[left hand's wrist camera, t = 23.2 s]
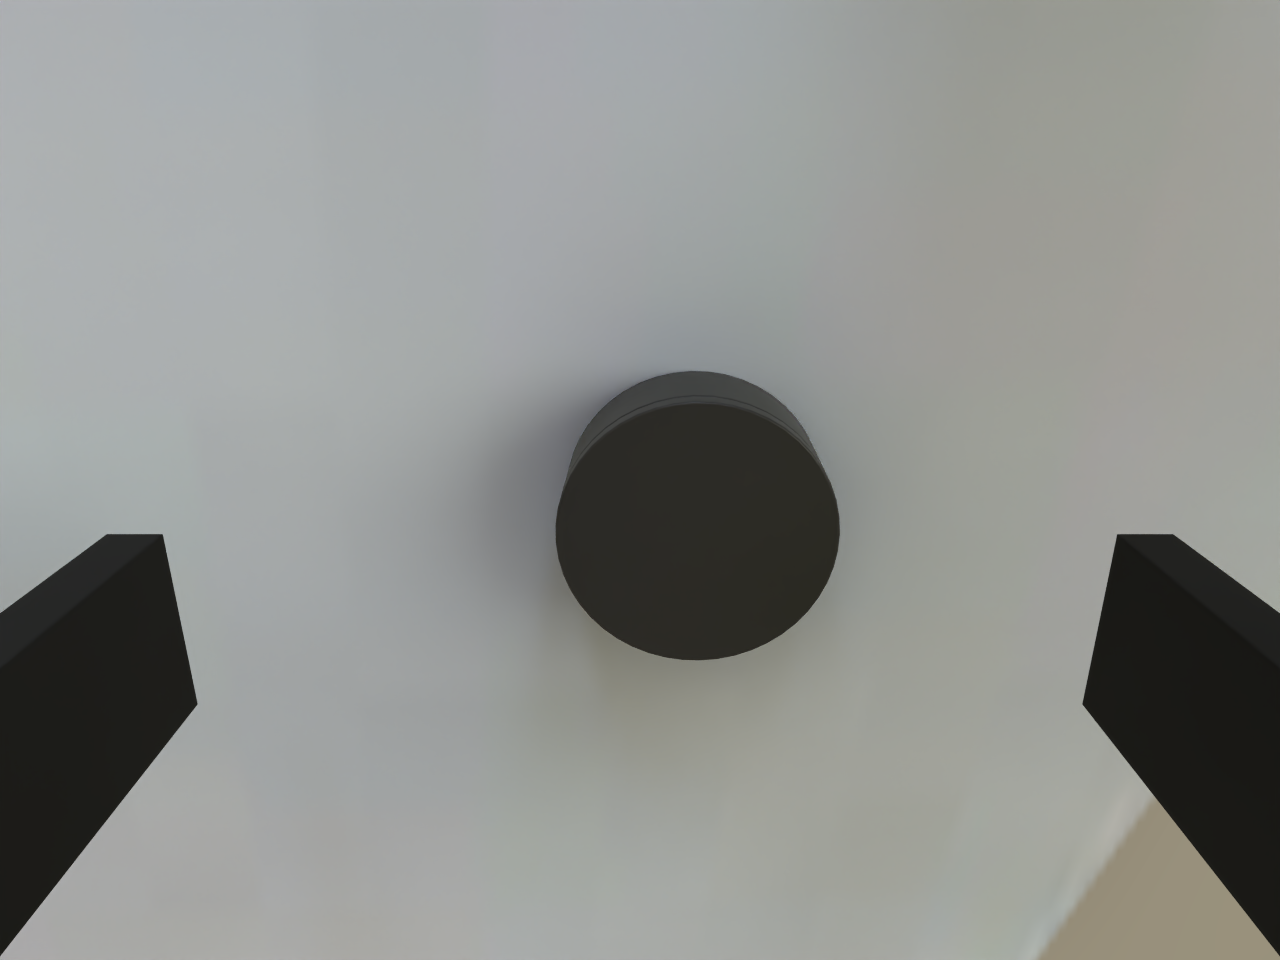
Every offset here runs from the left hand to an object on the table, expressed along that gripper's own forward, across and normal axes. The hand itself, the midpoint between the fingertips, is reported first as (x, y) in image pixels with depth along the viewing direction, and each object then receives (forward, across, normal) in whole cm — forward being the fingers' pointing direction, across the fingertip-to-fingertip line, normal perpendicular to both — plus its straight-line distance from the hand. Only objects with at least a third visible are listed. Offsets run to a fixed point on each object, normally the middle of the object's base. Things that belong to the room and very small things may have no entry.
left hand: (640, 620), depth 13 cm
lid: (+3, +1, 0) cm, 3 cm away
